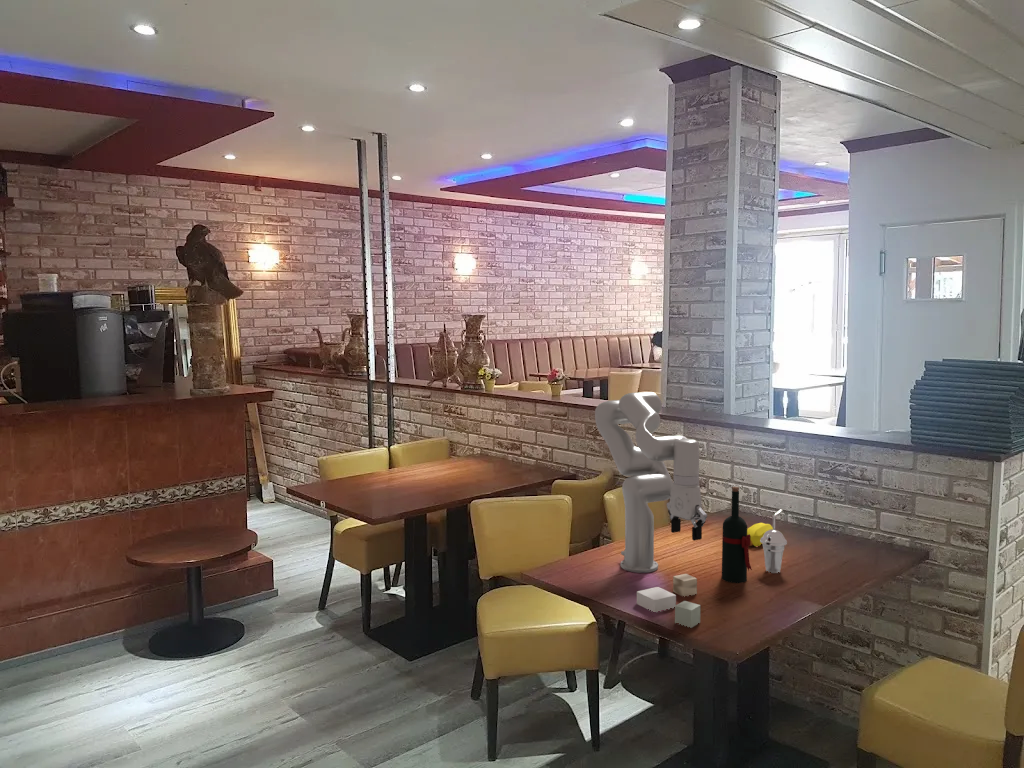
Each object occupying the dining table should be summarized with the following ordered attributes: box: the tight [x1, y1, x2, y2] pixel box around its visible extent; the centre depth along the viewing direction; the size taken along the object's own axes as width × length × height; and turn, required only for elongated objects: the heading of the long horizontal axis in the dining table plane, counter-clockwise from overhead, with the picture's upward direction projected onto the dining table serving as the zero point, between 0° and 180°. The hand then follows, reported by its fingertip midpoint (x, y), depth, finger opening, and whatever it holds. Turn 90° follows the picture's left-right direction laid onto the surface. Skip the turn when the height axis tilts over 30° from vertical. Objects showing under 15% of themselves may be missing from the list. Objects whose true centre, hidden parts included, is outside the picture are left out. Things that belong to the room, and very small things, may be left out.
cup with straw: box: [760, 508, 788, 574], centre depth 246 cm, size 8×9×20 cm
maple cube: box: [672, 573, 698, 598], centre depth 227 cm, size 5×5×5 cm
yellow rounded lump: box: [747, 522, 773, 548], centre depth 278 cm, size 18×7×8 cm
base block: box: [636, 586, 677, 613], centre depth 218 cm, size 8×8×4 cm
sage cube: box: [674, 600, 701, 629], centre depth 205 cm, size 5×5×5 cm
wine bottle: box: [721, 486, 753, 584], centre depth 237 cm, size 8×10×30 cm
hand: (686, 535), depth 226 cm, fingers open, 9 cm apart
